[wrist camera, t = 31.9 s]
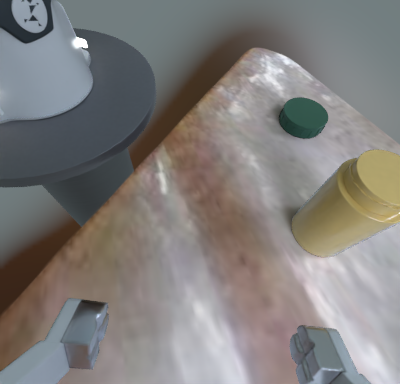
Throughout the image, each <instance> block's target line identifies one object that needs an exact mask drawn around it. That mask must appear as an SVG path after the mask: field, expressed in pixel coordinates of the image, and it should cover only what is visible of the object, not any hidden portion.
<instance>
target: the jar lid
mask: <svg viewBox="0 0 400 384" xmlns="http://www.w3.org/2000/svg"><path fill="white" fill-rule="evenodd" d="M279 120H280V124H281V126H282V127H283V129H284V130H286V131H287V132H288V133H290V134H291V135H293V136H296V137H299V138H312V137H316V136H317V135H318V134H319V133H321V131H322V130H323V128H324V127H325V124H326V123H327V121H328V114H327V112H326V110H325V109H324V108H323V107H322V106H321V105H320V104H319V103H317V102H315V101H313V100H311V99H307V98H293V99H290V100H289V101H287V102H286V104H285V105H284V107H283V109H282V111H281V113H280V116H279Z"/></svg>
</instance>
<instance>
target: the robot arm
mask: <svg viewBox="0 0 400 384" xmlns="http://www.w3.org/2000/svg"><path fill="white" fill-rule="evenodd" d="M81 46H82V47H85V48H87V44H86V41H85V40H83V39H80V38H77V37H76V35H75V33H74V30H73V28H72V26H71V24H70V22H69V19H68V17H67V15H66V13H65V11H64V8H63V7H62V5H61V4H60V3H59V2H57V1H56V0H0V124H1V123H5V122H9V121H14V120H38V119H44V118H49V117H53V116H56V115H59V114H61V113H64V112H66V111H68V110H70V109H72V108H74V107H75V106H77V105H78V104H79V103H81V102H82V101H83V100H84V99H85V98H86V97H87V96H88V94H89V93H90V91H91V89H92V86H93V76H92V74H91V71H90V69H89V66H90V63H91V57H90V55H89V53H88V51H86V50H83V49H82V48H81ZM107 310H108V303H107V302H98V301H90V300H83V299H74V298H69V299H68V300H67V301H66V302H65V304H64V305H63V307H62V309H61V311H60V313H59V314H58V316H57V318H56V320H55V322H54V324H53V325H52V327H51V329H50V331H49V333H48V335H47V336H46V338H45V340H44V341H39V342H38V343H36V344H35V345H34V346H32V347H31V348H30V349H29V350H27V351H26V352H25V353H24V354H22V355H21V356H20V357H18V358H17V359H16V360H15V361H13V362H12V363H11V364H9V365H8V366H7V367H6V368H4V369H3V370H2V371H0V384H57V383H58V381H59V380H60V379H61V378H62V377H63V376H64V375H65V374H66V373H67V372H68V371H69V370H70V369H69V368H77V369H92V370H93V367H94V364H95V362H96V359H97V356H98V353H99V342H100V341H101V340H102V339H104V336H105V333H106V329H107V325H108V320H109V314H108V313H107ZM297 332H298V333H296V334H294V335H293V336H292V337H291V339H290V352H291V356H292V359H293V360H294V361H295V363H296V364H297V368H296V374H297V377H298V381H299V384H371V383H370V382H369V381H368V380H367V379H366V378H365V377H364V376H363V375H362V374H358V372H357V369H356V367H355V365H354V363H353V361H352V359H351V357H350V355H349V353H348V351H347V348H346V346H345V344H344V342H343V340H342V338H341V336H340V334H339V332H338V331H337V330H336V329H332V328H323V327H315V326H305V325H301V326H299V327H298V328H297Z"/></svg>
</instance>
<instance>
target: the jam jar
mask: <svg viewBox="0 0 400 384" xmlns="http://www.w3.org/2000/svg"><path fill="white" fill-rule="evenodd" d="M398 223H400V156H399V155H397V154H395V153H392V152H389V151H385V150H369V151H366V152H364V153H362V154H361V155H360V156H359V157H358V158H354V159H350V160H348V161H346V162H344V163H343V164H342V165H341V166H340V167H339V168H338V169H337V170H336V171H335V172H334V173H333V174H332V175H331V176H330V177H329V178H328V179H327V180H326V181H325V183H324V184H323V185H322V186H321V187H320V188H319V189H318V190H317V191H316V192H315V193H314V194H313V195H312V196H311V197H310V198H309V199H308V200H307V202H306V203H305V204H304V205H303V206H302V207H301V208H300V209H299V210H298V211H297V212H296V213H295V215H294V216H293V219H292V232H293V235H294V237H295V239H296V241H297V242H298V243H299V245H300V246H301V247H302V248H303V249H305V250H306V251H307V252H309V253H311V254H313V255H315V256H319V257H332V256H335V255H337V254H339V253H341V252H343V251H345V250H347V249H349V248H351V247H353V246H355V245H357V244H359V243H361V242H363V241H365V240H367V239H369V238H371V237H373V236H375V235H377V234H379V233H381V232H383V231H385V230H387V229H389V228H391V227H393V226H395V225H396V224H398Z"/></svg>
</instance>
